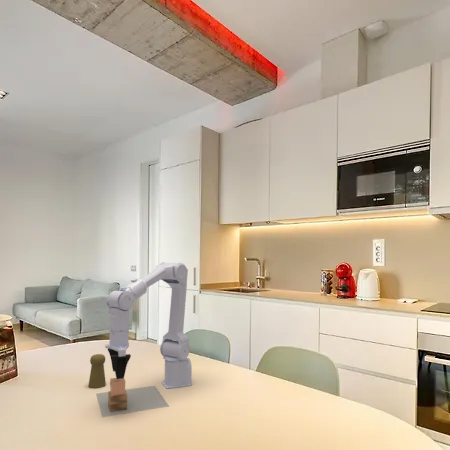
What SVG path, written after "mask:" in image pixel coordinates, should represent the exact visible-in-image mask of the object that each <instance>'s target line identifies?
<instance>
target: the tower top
mask: <svg viewBox="0 0 450 450" xmlns="http://www.w3.org/2000/svg"><path fill="white" fill-rule="evenodd" d="M107 392H108V400H109V403H110V405H111V404H118V403H124V402H127V393H126V391H125V394H124V395H117V396H111V393H110V390H108V391H107Z"/></svg>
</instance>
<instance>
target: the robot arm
mask: <svg viewBox="0 0 450 450" xmlns="http://www.w3.org/2000/svg"><path fill="white" fill-rule="evenodd" d="M188 271H189V269H188V268H187V266H186V265H185V264H184V263H182V262H178V263H177V262H161V263H159V264H157V265H156V266H155V268H154V269H153V270H151V271H150V272H148V274H146V275H145V276H144V277H142V278H141V279H140V278H132V279H131V280H130V282H129V283H128V284H126V285H124V286H121V287H120V289H119V290H114V291H111V292H110V293H109V294H108V296H107V298H106V300H105V304H106V307H107V308H108V313H109V343H108V344H105V347H104V348H105V349H107V351H108V354H109V356H110V361H111V368H112V372H113V373H114V374H115V378H117V379H122V378H124V379H125V374H126V371H127V367H128V364H129V361H130V359H131V356H132V355H131V354H130V353H127V352H126V351H127V350H128V348H129V347H130V343H129V337H130V336H129V335H130V334H129V332H130V331H129V330H130V329H129V328H130V324H129V323H130V309H131V308H132V307H133V304H134V302H136V300H138V299H139V298H140V297H142V296H144V295H145V294H146V293H147V291H148V288H149V287H151V286H152V285H155V284H156V283H157V282H159V281H161V280H162V281H163V282H164V283H166V284H167V285H168V286H169V287H170V288H171V296H170V297H171V298H170V310H169V318H168V319H169V320H168V332H166V333H165V334H164V335H163V336H162V341H161V344H160V349H159V353H160V354H161V355H162V357H163V360H164V380H161V384H162V385H163V386H164V387H165V389H167V390H170V389H176V388H183V387H184V388H185V387H189V386H193V384H192V377H193V376H192V372H193V371H192V369H193V368H192V362H191V359H190V358H189V355H190V343H189V341H190V340H189V339H190V338H189V337H188V336H187V335H186V334H185V332H184V327H185V326H184V325H185V312H186V311H185V310H186V302H187V301H186V300H187V299H186V298H187V288H188V287H187V286H188V284H187V283H188Z"/></svg>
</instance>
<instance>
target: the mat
mask: <svg viewBox="0 0 450 450" xmlns="http://www.w3.org/2000/svg"><path fill="white" fill-rule="evenodd" d="M125 391H126V393H127V410H121V411H115V412H110V411H109V407H108V391H106V392H99V393H95V395H96V398H97V403H98V406H99V411H100V415H101V417H102V418H103V417H105V418H106V417H110V416H111V417H112V416H118V415H124V414H129V413H130V414H131V413H136V412H142V411H148V410H156V409H161V408H167V407H170V405H169V404H168V402H167V401H166V399H165V397H164V396H163V395H162V394H161V392H160V391H159V390H158V388H157V387H156V385H149V386H148V385H147V386H142V387H133V388H125Z"/></svg>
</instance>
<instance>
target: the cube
mask: <svg viewBox="0 0 450 450" xmlns="http://www.w3.org/2000/svg"><path fill="white" fill-rule="evenodd" d="M109 385H110V386H109V391H110V393H111V396H117V395H124V394H125V390H126V379H125V377H124V378H122V379H117V378H116V377H112V378H110V380H109Z"/></svg>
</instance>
